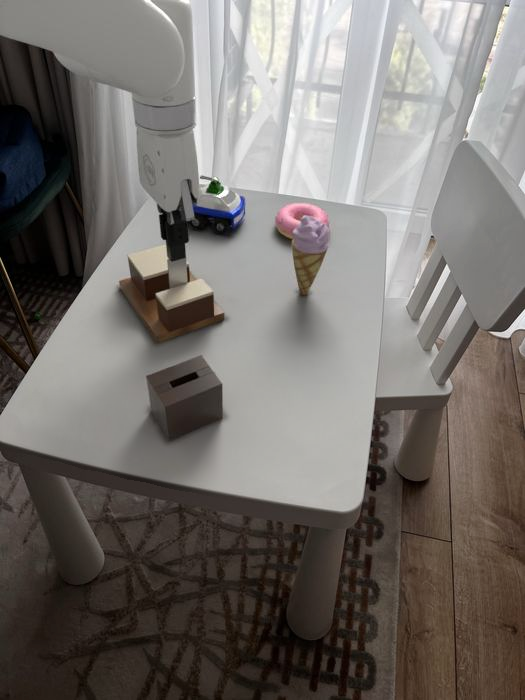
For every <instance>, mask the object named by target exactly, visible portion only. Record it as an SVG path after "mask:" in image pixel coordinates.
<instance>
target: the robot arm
mask: <svg viewBox="0 0 525 700" xmlns="http://www.w3.org/2000/svg"><path fill="white" fill-rule="evenodd" d="M192 10H193V9H192V5H191V2H190V0H0V36H1V37H5V38H8V39H10V40H13V41H18V42H20V43H25V44H28V45H31V46H34V47H38V48H41V49H45V50H47V51H50V52H52V53H53V55H54V56H55V58H56V59H57V60H58V62H59V63H60V64H61V65H62V66H63V67H64V68H65V69H67V70H68V71H70V72H71V73H73V74H75V75H76V76H79V77H82V78H84V79H88V80H90V81H93V82H96V83H98V84H102V85H107V86H110V87H112V88H117V89H119V90H122V91H125V92H127V93H130V94H131V101H132V108H133V109H132V110H133V117H134V118H133V119H134V125H135V128H136V131H135V132H136V133H135V134H136V153H137V165H138V178H139V183H140V185H141V187H142V188H143V189H144V190H145V192H146V193H147V194H148V195H149V196H150V197H151V198H152V199H153V201H154V202H155V203H156V208H157V213H159V214H158V221H159V229H160V231H159V232H160V238H161V239H162V241H166V237H167V245H168V246H169V247H170V248H171V247H175V246H178V245H182V244H185V245H186V244H188V243H189V241H190V237H189V224H188V221H190V220H194V219H195V216H194V211H193V206H192V204H193V205H194V206H196V205H197V204H198V202H199V188H200V174H199V172H200V171H199V163H198V153H197V145H196V138H195V132H194V129H195V128H196V127H197V103H196V82H195V81H196V79H195V54H194V53H195V50H194V27H193V11H192ZM180 207H181V209H180V210H176V209H177V208H180ZM163 210H165V211H166V212H167V220H168V221H167V222H164V215H163ZM174 210H176V211H175V212H174ZM165 226H166V234H165Z"/></svg>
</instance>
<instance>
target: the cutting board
mask: <svg viewBox="0 0 525 700" xmlns="http://www.w3.org/2000/svg"><path fill="white" fill-rule="evenodd" d="M189 274H190V282H192V281H195V280H198V279H197V278H196V277H195V275H193V273H192V272H191V271H190V270H189ZM118 283H119V289H120V290H121V291H122V293H123V294H124V296H125V298H126V299H127V301H128V302H129V303H130V305H131V307H132V308H133V309H134V311H135V312H136V314H137V316H138V317H139V318H140V320H141V322H142V323H143V324H144V326H145V327H146V329H147V330H148V332H149V334H150V335H151V337H152V338H153V340H154V341H155V342H156V344H159V343H162V342H164V341H167V340H170V339H173V338H175V337H179V336H181V335H184V334H187V333H189V332H192V331H195V330H198V329H201V328H204V327H207V326H209V325H212V324H216V323H218V322H221V321H224V320H225V311H224V310H223V309H222V307H220V305H218V303H217V302H216V301H215V300H214V316H213V317H211V318H208V319H205V320H202V321H200V322H197V323H194V324H191V325H189V326H186V327H183V328H180V329H178V330H175V331H172V332H169V331H168V330H167V329H166V327H165V326H164V325H163V324H162V322H161V321H160V320H159V318H158V310H157V302H156V299H153V300H149V301H146V300H145V298H144V297H143V295H142V294H141V292H140V291H139V290H138V288H137V287H136V285H135V284H134V282H133V281H132V279H131V276H130V277H127V278H124V279H121V280H120V279H119V280H118Z"/></svg>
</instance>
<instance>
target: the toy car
mask: <svg viewBox="0 0 525 700" xmlns="http://www.w3.org/2000/svg"><path fill="white" fill-rule="evenodd" d="M199 180H205V181H206V180H207V181H210V182H209V183H208V184H205V185H203V186H201V187H199V202H198V204H197V205H196V206H194V205H193V204H192V206H193V211H194V216H195V219H194V220H190V221H188V227H190V228H191V229H193V230H196V231H201V230H202V229H204V227H205V225H206V224H207V223H208V219H210V220H211V219H212V220H213V221H212V223H211V227H212V230H213V231H214V233H216V234H218V235H221V236H223V235H226V234H228V232H229V230H230V229H231V228H232V229H235V228H236V227H237V226H238V225H240V224H241V223H242V221H243V220H244V217H245V215H246V197H245V196H243V195H239V194H238V193H237V192H235V191H234V190H232V189H231V188H230V187H228V186H226V185H223V184H222V182H220V179H219V178H218V177H217V176H212V177H210V176H206V175H202V174H201V175H199Z"/></svg>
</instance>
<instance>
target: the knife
mask: <svg viewBox="0 0 525 700" xmlns="http://www.w3.org/2000/svg"><path fill="white" fill-rule="evenodd" d="M180 209H181V207H180V208H177V209H176V210H180ZM176 210H174V212H175V211H176ZM163 215H164V222H167V221H168V220H167V212H166V211H165V210H163ZM165 234H166V226H165ZM165 244H166V249H167V257H168V258H169V259H167V265H168V276H169V287H170V289H171V288H174V287H177V286H180V285H183V284H186V283H188V281H187V263H186V261H187V252H186V251H187V249H186V243H185V244H182V245H178V246H175V247H171V248H170V247H169V246H168V245H167V237H166V240H165Z"/></svg>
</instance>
